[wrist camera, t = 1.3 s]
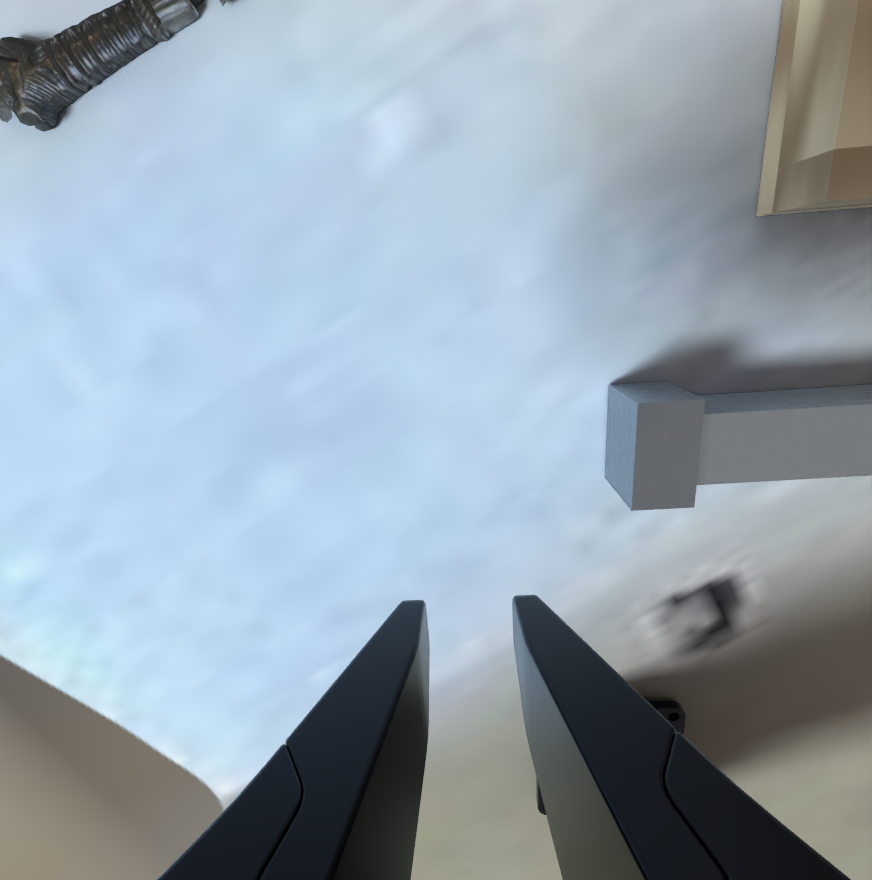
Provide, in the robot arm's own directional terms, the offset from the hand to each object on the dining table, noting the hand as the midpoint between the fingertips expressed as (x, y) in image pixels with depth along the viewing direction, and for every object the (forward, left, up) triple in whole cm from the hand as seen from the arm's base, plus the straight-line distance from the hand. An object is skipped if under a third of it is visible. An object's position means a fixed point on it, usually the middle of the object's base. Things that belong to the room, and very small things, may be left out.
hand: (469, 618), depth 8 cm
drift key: (0, -12, -10) cm, 15 cm away
